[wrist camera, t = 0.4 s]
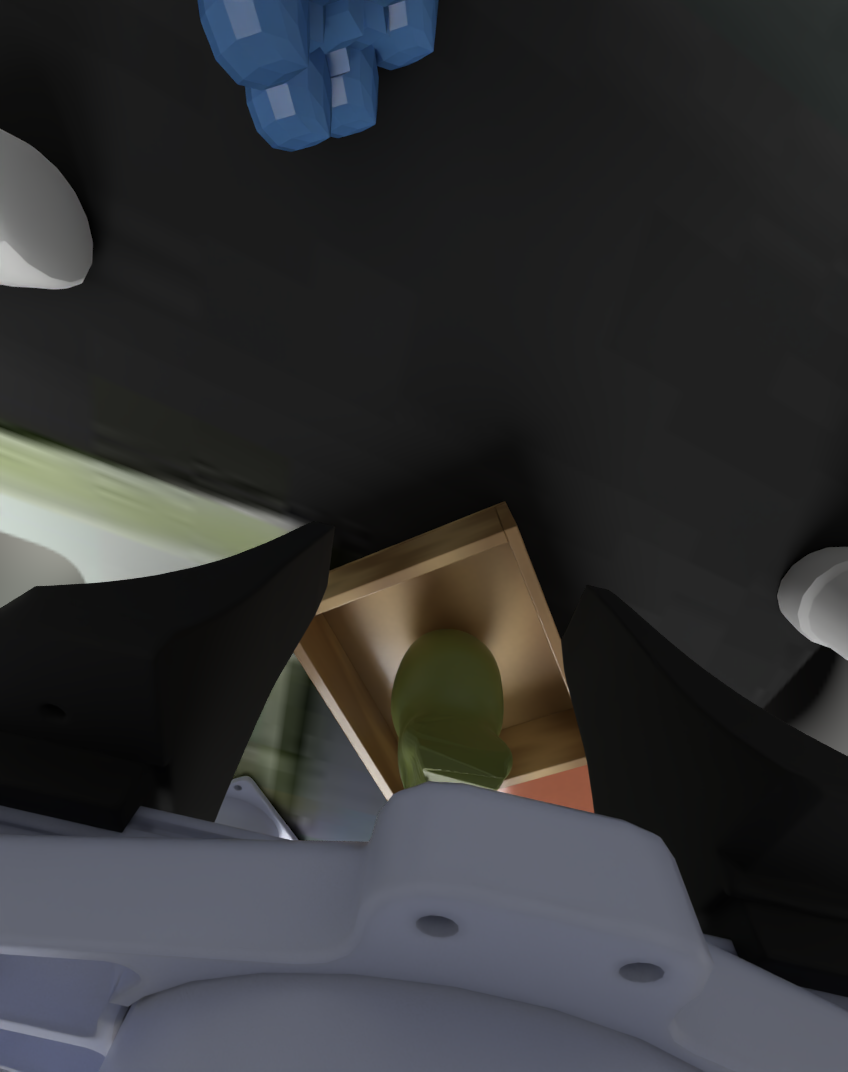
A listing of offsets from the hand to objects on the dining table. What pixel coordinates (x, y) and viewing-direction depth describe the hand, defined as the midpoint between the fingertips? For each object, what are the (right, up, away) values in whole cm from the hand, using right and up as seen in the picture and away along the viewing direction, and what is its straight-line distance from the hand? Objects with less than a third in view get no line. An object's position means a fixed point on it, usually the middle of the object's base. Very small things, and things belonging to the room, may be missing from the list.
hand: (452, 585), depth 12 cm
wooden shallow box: (+1, -5, +13) cm, 14 cm away
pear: (+1, -5, +13) cm, 14 cm away
